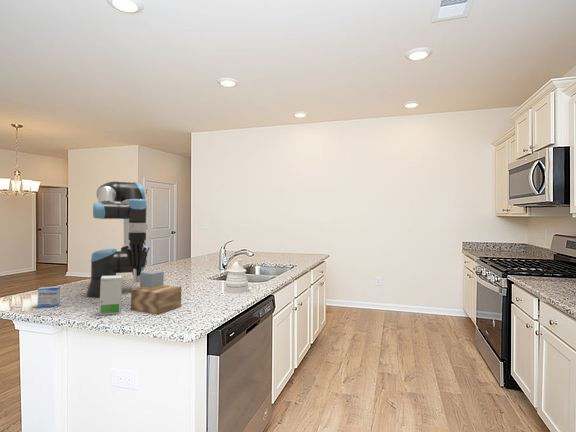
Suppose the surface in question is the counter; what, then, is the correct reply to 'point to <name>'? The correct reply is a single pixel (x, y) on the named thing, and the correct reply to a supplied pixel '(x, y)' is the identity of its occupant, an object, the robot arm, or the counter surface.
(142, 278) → the slate-blue block
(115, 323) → the counter surface
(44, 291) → the medicine box
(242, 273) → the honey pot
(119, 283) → the skincare box
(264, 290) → the counter surface
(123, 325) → the counter surface
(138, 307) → the oak plinth
